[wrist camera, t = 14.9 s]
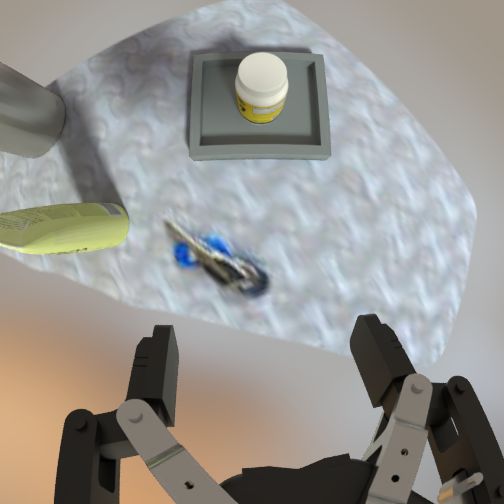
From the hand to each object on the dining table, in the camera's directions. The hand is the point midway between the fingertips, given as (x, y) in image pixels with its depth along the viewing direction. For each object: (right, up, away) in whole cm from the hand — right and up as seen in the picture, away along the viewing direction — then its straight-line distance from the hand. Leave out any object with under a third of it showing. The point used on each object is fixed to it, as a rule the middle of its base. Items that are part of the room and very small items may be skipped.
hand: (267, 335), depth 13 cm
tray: (0, +19, +18) cm, 26 cm away
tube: (-17, +7, +19) cm, 26 cm away
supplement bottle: (0, +19, +17) cm, 26 cm away
